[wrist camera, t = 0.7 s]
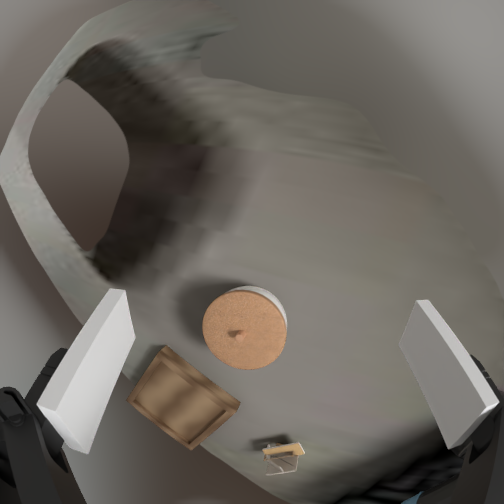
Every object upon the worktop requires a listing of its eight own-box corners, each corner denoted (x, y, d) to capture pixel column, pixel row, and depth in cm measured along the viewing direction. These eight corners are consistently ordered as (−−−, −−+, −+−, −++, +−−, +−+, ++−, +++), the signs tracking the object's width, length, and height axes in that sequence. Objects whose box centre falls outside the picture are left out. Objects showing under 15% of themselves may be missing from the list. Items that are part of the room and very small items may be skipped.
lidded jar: (217, 277, 44) (192, 293, 35) (291, 277, 41) (284, 295, 32) (222, 343, 45) (201, 372, 36) (291, 346, 43) (284, 379, 34)
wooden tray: (240, 402, 46) (236, 411, 43) (196, 442, 50) (191, 450, 47) (166, 345, 47) (158, 351, 45) (133, 393, 51) (125, 400, 48)
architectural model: (265, 437, 47) (256, 464, 39) (300, 429, 45) (296, 457, 38) (272, 448, 47) (265, 475, 40) (306, 441, 45) (303, 469, 38)
